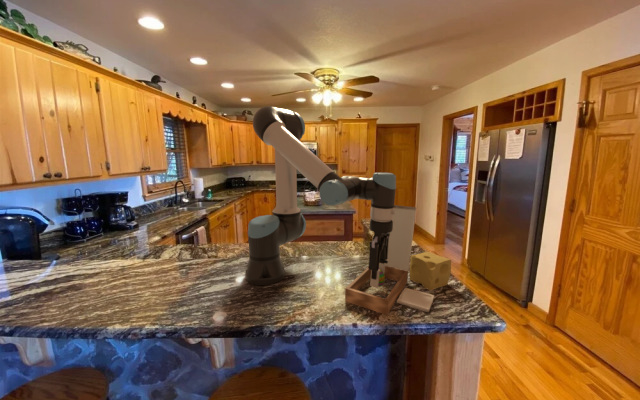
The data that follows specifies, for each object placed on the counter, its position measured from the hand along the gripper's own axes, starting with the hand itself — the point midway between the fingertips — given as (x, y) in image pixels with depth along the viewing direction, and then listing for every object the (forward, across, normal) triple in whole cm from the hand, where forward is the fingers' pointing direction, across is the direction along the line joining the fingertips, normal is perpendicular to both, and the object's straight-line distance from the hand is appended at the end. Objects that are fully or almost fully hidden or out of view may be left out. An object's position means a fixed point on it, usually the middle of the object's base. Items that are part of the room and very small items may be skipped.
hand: (377, 283), depth 91 cm
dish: (+3, +1, -13) cm, 13 cm away
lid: (-13, +15, 0) cm, 20 cm away
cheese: (+3, +17, -14) cm, 22 cm away
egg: (+1, 0, 0) cm, 1 cm away
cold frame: (+3, +3, -1) cm, 4 cm away
